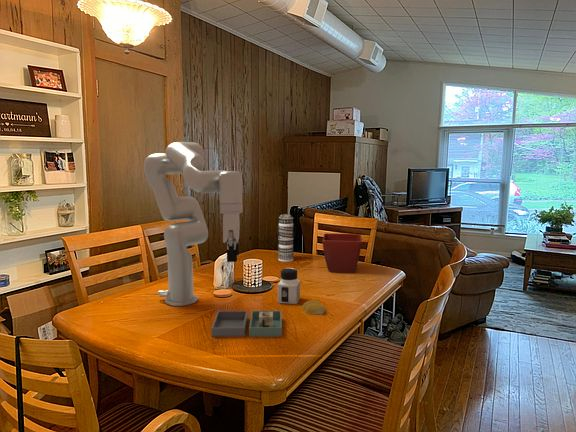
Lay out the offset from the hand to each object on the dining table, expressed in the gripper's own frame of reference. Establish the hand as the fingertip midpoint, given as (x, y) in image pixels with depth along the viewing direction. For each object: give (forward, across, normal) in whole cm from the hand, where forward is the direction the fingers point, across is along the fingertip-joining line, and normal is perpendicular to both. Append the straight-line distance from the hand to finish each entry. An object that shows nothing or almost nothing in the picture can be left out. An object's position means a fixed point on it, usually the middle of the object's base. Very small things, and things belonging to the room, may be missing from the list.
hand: (233, 258), depth 148 cm
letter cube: (+23, +4, +10) cm, 26 cm away
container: (+24, -24, +20) cm, 39 cm away
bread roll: (+24, -12, +28) cm, 39 cm away
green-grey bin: (+24, +4, +10) cm, 26 cm away
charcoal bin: (+24, +3, -2) cm, 24 cm away
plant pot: (+23, -69, +49) cm, 88 cm away
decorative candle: (+22, -90, +22) cm, 95 cm away
